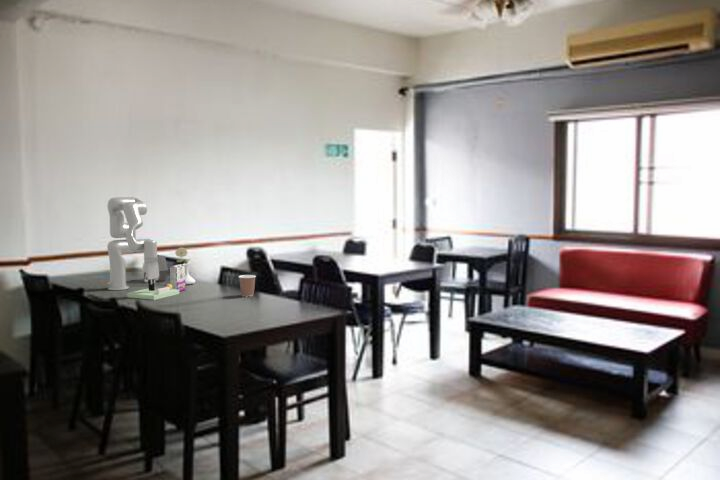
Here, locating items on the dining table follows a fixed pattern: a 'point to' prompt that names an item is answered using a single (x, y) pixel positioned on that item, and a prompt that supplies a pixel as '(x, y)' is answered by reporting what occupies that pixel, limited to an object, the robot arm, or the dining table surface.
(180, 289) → the candy bar box
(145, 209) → the robot arm
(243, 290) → the coffee cup
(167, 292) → the green deck
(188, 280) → the flower in vase
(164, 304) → the dining table surface
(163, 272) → the planter
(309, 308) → the dining table surface
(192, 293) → the dining table surface
